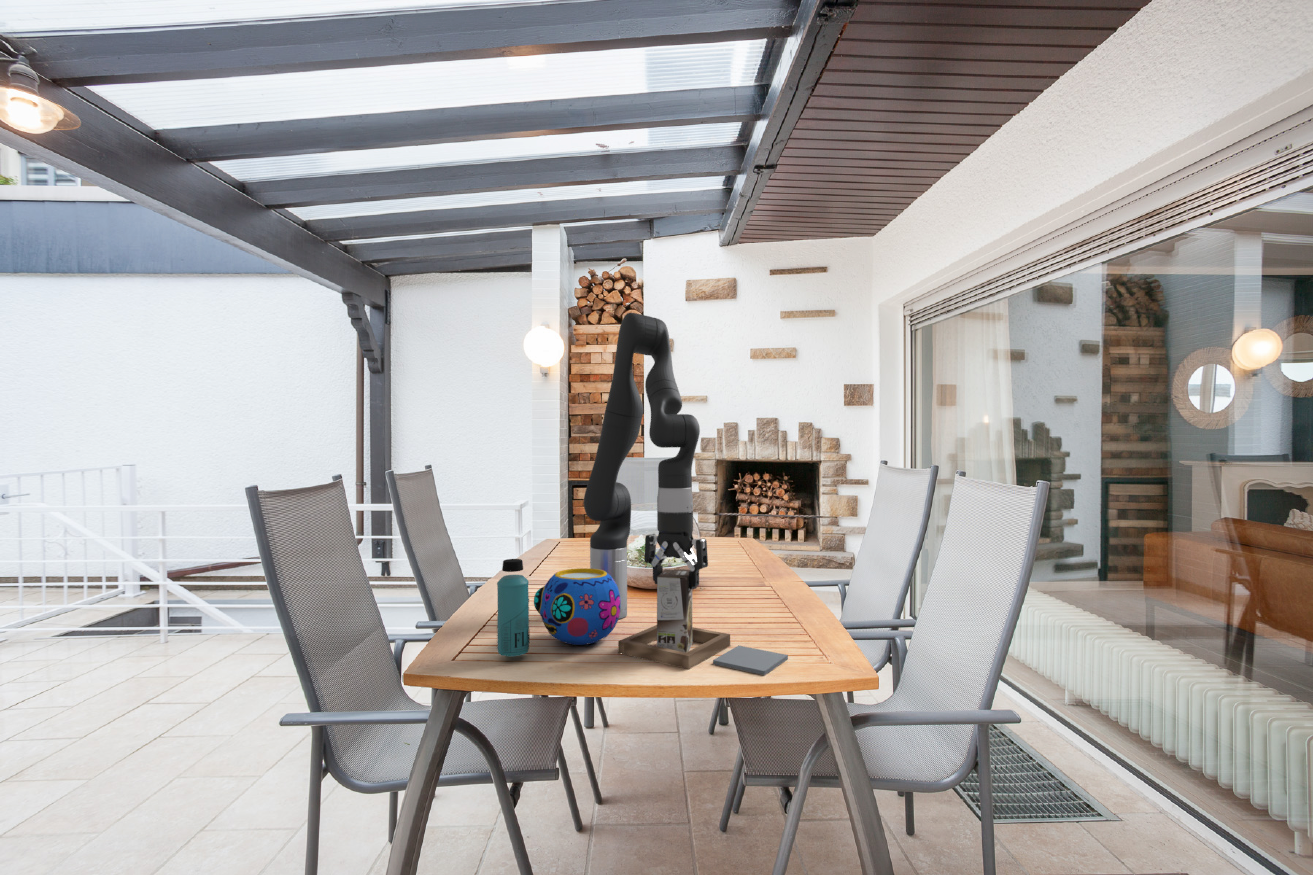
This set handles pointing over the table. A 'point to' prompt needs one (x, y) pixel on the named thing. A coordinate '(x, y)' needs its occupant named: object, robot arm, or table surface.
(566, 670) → the table surface
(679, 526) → the robot arm
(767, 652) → the slate mat
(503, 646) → the beverage bottle
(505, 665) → the table surface
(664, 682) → the table surface
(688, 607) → the coffee box
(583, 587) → the ceramic pot
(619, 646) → the board
